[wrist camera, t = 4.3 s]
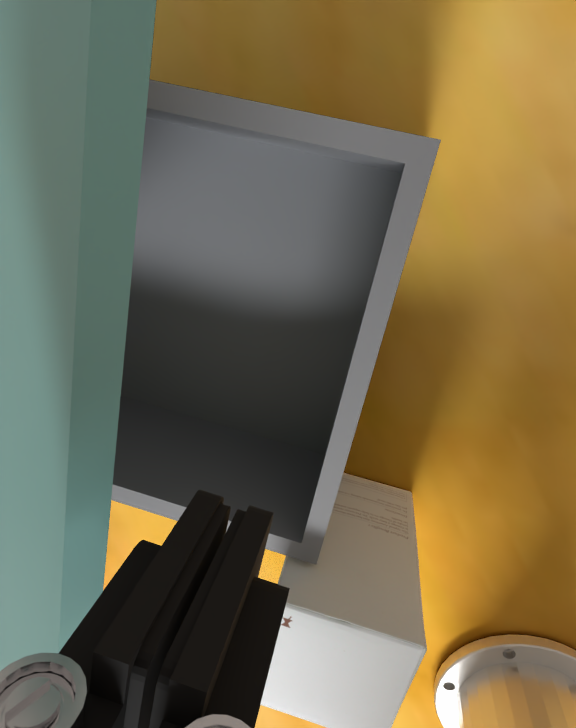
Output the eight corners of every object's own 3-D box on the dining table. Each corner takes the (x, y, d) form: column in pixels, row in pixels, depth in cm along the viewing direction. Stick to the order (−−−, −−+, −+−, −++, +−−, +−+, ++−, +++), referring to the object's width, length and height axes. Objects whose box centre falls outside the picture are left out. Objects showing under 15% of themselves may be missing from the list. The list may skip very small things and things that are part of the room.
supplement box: (290, 542, 37) (243, 703, 25) (313, 460, 34) (272, 597, 23) (386, 573, 36) (383, 754, 25) (417, 491, 34) (430, 650, 22)
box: (424, 158, 27) (440, 139, 18) (337, 464, 34) (316, 564, 25) (91, 87, 29) (-49, 38, 20) (75, 387, 36) (-33, 454, 27)
